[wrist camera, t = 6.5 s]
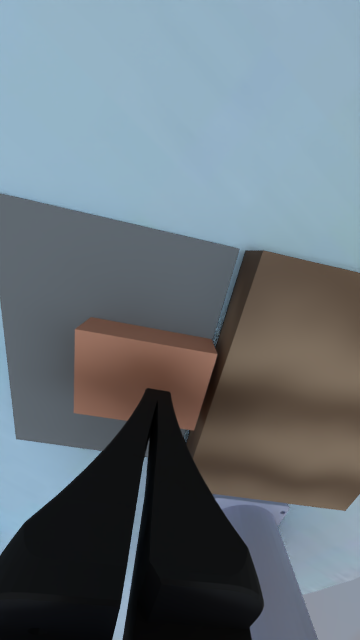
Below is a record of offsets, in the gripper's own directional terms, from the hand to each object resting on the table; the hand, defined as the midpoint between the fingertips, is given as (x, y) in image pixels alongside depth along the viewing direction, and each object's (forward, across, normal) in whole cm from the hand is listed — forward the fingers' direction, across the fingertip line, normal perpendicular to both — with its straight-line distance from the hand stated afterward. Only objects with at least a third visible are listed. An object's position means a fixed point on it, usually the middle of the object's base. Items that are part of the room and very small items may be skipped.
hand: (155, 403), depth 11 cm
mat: (+3, +4, 0) cm, 5 cm away
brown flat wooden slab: (+3, -10, 0) cm, 11 cm away
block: (+3, +1, 0) cm, 3 cm away
